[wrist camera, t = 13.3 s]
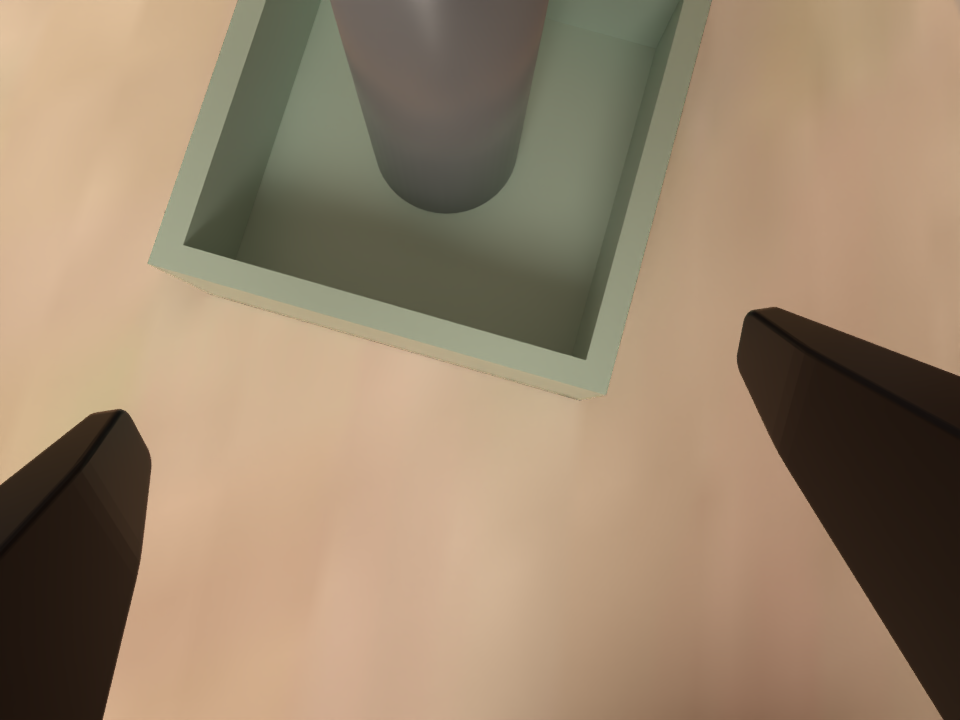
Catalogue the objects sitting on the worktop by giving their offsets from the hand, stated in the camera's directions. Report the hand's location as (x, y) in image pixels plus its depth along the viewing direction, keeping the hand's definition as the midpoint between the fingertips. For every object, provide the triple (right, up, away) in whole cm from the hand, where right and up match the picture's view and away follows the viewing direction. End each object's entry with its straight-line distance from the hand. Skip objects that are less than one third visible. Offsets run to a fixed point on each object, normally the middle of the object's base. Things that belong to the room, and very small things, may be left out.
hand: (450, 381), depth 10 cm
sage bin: (-1, +7, +14) cm, 16 cm away
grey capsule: (-1, +8, +13) cm, 15 cm away
